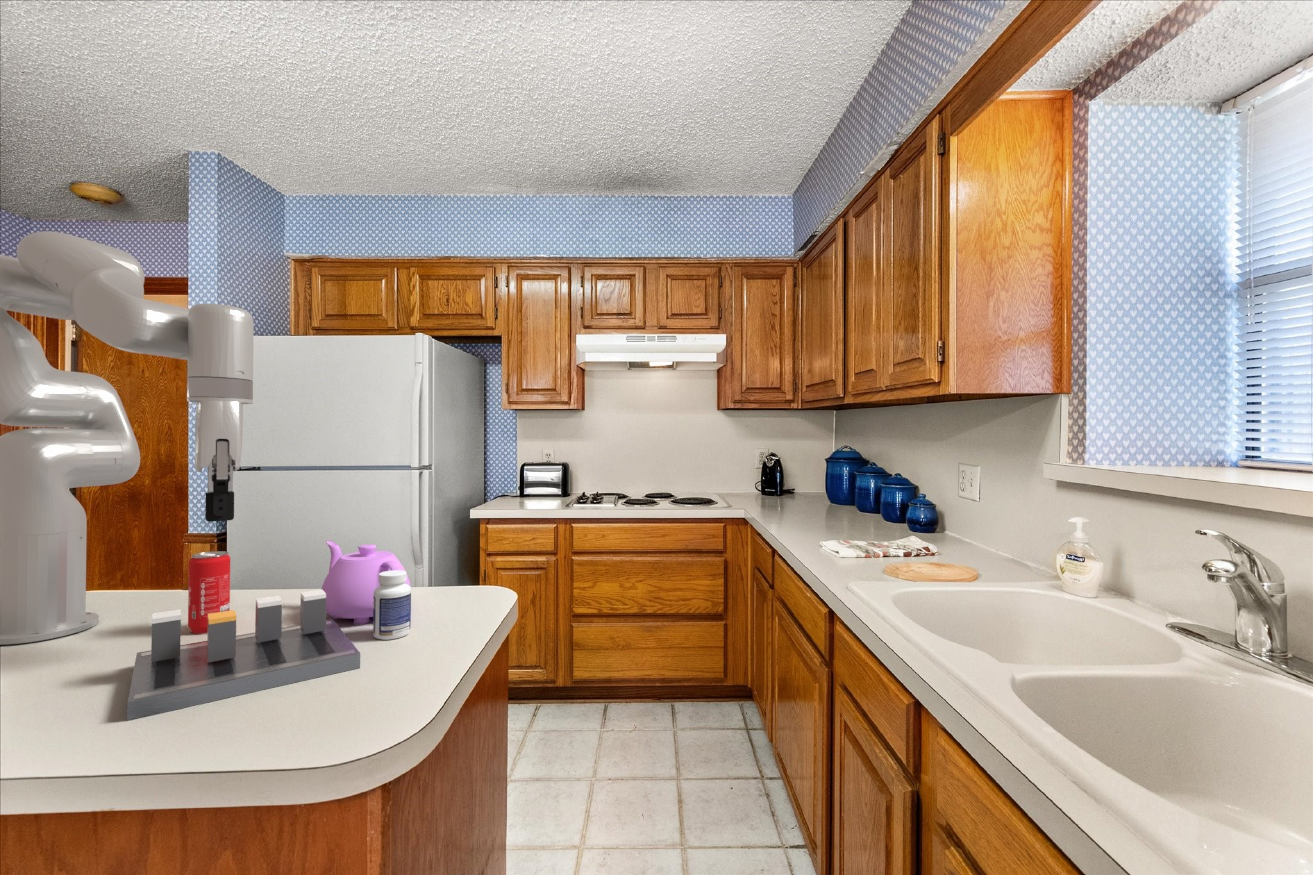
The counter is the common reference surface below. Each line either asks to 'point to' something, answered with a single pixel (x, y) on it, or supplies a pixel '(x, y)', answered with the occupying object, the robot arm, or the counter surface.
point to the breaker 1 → (166, 635)
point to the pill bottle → (392, 606)
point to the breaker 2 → (268, 619)
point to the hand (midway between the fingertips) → (219, 520)
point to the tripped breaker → (221, 636)
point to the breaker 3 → (313, 611)
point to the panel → (237, 669)
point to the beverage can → (207, 588)
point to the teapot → (356, 581)
